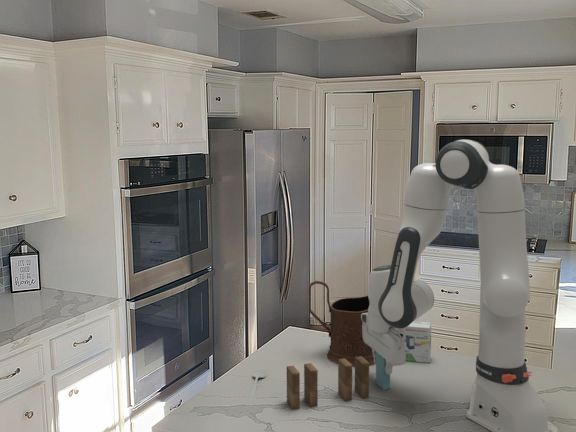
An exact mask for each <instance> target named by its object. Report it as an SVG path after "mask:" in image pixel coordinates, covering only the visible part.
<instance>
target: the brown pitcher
mask: <svg viewBox="0 0 576 432" xmlns="http://www.w3.org/2000/svg"><path fill="white" fill-rule="evenodd" d="M316 284H318V285H322V286H324V287H325V288H326V303H327V305H328V313H330V328H329V327H328V325H326V324H325V322H323V320H321V319H320V318H319V317H318V315H316V313H315V312H314V311H312V304H311V303H312V287H313V286H314V285H316ZM368 308H369V298H368V295H364V296H359V297H345V298H339V299H337V300H334V301H333V302H332V303H330V287H329V286H328V284H327V283H326V282H324V281H321V280H314V281H312V282H311V283H309V286H308V309H309V310H308V311H309V313H310V314H311V315H312V317H314V318H315V319H316V320H317V322H318V323H319V324H321V325H322V327H323V328H324V329H325V330H326V331H327V332H328V337H329V338H330V345H329V349H328V350H327V352H326V355H327V356H326V358H327V359H328V361H330V362H332V363H334V364H335V365H338V359H344V358H345V359H346V360H347V361H348V362H349V363H350V364H352V368H355V357H358V356H362V357H363V358H364V359H365V360H367V361H368V362H369V367H371V366H376V364H375V363H374V356H373V353H372V348H371V347H369V346H368V345H367V344H366V343H364V340H363V337H362V322H363V321H362V320H361V314H362V313H368Z"/></svg>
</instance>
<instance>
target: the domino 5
mask: <svg viewBox="0 0 576 432" xmlns="http://www.w3.org/2000/svg"><path fill="white" fill-rule="evenodd" d="M386 364H387V363H386V359H384V358H383V357H382V356H381V355H379V354H378V353H377V352H376V364H375V384H377V385H378V387H380V388H381V389H382V390H384V391H385V390H390V389H391V374H387V373H385V372H384V366H386Z"/></svg>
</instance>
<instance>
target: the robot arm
mask: <svg viewBox="0 0 576 432" xmlns="http://www.w3.org/2000/svg"><path fill="white" fill-rule="evenodd" d="M491 159H492V158H491V154H490V152H489V149H488V148H487V147H486V146H485V145H484V144H483V143H482V142H479V141H477V140H473V139H458V140H454V141H452V142H448V143H447V144H445V145H444V146H443V147H442V148H441V149H440V150H439V152H438V153H437V156H436V158H435V162H424V163H421V164H420V163H419V164H418V165H416V166H415V167H414V168H413V169H412V170H411V172H410V174H409V175H410V176H409V179H408V182H407V185H406V189H405V194H404V195H405V196H404V200H403V201H404V202H403V208H402V215H401V222H400V227H399V231H398V235H397V239H396V242H395V245H394V251H393V255H392V259H391V265H390V264H388V265H382V266H378V267H375V268H374V269H372V270H371V271H370V274H369V277H368V285H367V289H368V290H367V296H368V298H369V308H368V313H362V314H361V320H362V321H363V322H362V337H363V340H364V343H366V344H367V345H368V346H369V347H371V348H372V353H373V356H374V363H375V365H376V352H377V353H378V354H379V355H381V356H382V357H383V358H384V359H386V363H387V364H386V366H384V372H385V373H387V374H390V375H391V374H392V373H393V368H394V367H395V366H402V365H405V364H406V362H407V361H406V354H405V342H404V339H403V336H401V332H400V331H399V329H403V328H405V327H407V326H409V325H410V324H411V323H412V322H413V321H415V320H417V319H419V318H420V317H422V316H423V315H425V314H426V313H427V312H429V311H430V310H431V309H432V308H433V306H434V304H435V303H434V302H435V296H434V291H433V290H432V288H431V287H430V285H428V284H427V283H426V282H424V281H421V280H418V279H415V277H416V271H417V268H418V267H417V266H418V262H419V260H420V257H421V255H422V253H423V252H424V250H425V249H426V248H427V247H428V246H429V245H430V243H432V242H433V241H434V240H435V239H436V238H437V237H438V236H439V235H440V234H441V232H442V230H443V227H444V224H445V221H446V217H447V209H448V201H449V196H450V192H451V190H452V189H453V187H454V186H455V187H460V188H463V189H467V190H474V191H473V192H475V196H476V197H475V198H476V209H477V210H476V211H477V215H476V216H477V230H478V251H479V252H478V254H479V255H478V257H479V271H480V272H479V273H480V285H479V286H480V293H479V294H480V295H479V325H478V326H479V328H478V331H479V332H478V348H477V349H478V351H477V352H478V355H477V356H476V360H475V371H476V377H475V380H474V381H473V384H472V388H471V397H470V404H469V407H468V408H469V409H468V410H466V415H465V416H466V418H467V419H470V420H471V421H472V422H475V424H478V425H480V426H481V427H482V428H484V429H487V430H489V431H490V432H559V429H558V428H557V426H555V425H554V424H553V423H552V422H551V421H550V420H549V415H548V414H549V413H548V408H547V405H546V404H545V399H544V397H543V396H541V395H539V393H538V392H537V391H536V390H535V388H534V386H533V385H532V383H531V382H530V379H529V378H530V377H532V376H533V375H531V374H532V373H533V372H532V371H528V367H527V363H526V361H525V354H526V353H525V352H526V337H527V336H526V333H527V331H526V307H527V306H528V303H529V300H530V298H531V288H530V287H531V286H530V285H531V283H530V273H529V272H530V271H529V261H528V260H529V258H528V249H527V248H528V247H527V232H526V231H527V229H526V207H525V206H526V205H525V196H524V189H523V184H522V179H521V177H520V173H519V172H518V170H517V169H516V168H515V167H513V166H510V165H508V164H495V163H492V162H491V161H492V160H491Z"/></svg>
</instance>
